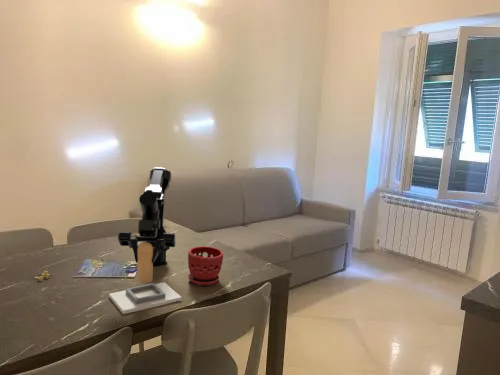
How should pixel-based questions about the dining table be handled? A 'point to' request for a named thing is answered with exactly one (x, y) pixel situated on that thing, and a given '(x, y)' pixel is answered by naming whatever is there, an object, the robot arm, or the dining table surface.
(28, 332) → the dining table surface
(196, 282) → the plant pot
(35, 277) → the yellow knobbed cluster
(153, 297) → the plate
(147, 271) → the orange domed cylinder
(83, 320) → the dining table surface
